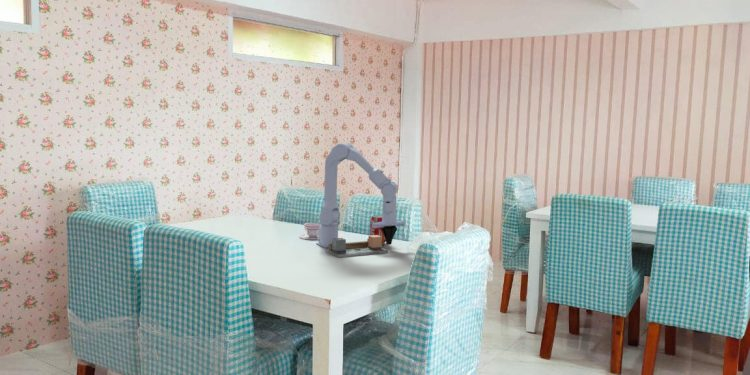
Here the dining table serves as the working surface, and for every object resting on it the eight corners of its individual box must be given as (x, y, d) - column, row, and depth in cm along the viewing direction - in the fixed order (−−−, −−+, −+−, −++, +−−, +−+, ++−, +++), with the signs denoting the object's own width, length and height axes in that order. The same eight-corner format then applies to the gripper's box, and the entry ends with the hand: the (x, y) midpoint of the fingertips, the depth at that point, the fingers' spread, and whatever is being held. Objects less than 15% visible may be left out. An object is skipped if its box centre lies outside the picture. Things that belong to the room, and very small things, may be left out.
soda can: (384, 245, 272) (384, 217, 271) (368, 244, 274) (368, 217, 273) (387, 242, 279) (387, 215, 278) (371, 241, 281) (371, 214, 279)
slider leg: (364, 246, 265) (365, 234, 264) (373, 245, 267) (374, 233, 266) (372, 249, 259) (372, 237, 258) (381, 248, 260) (381, 236, 260)
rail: (328, 248, 259) (328, 244, 258) (372, 245, 268) (372, 240, 267) (330, 249, 257) (330, 244, 257) (374, 246, 266) (374, 241, 266)
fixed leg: (329, 249, 258) (329, 237, 257) (338, 248, 260) (338, 236, 259) (336, 252, 251) (336, 240, 251) (345, 251, 253) (346, 239, 253)
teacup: (331, 237, 291) (331, 223, 290) (314, 241, 281) (314, 227, 280) (310, 234, 297) (310, 221, 297) (293, 238, 287) (293, 224, 287)
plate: (326, 251, 258) (326, 249, 258) (374, 247, 268) (374, 244, 268) (338, 257, 248) (338, 254, 247) (388, 252, 257) (388, 250, 257)
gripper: (378, 213, 256) (377, 247, 257) (409, 212, 262) (408, 244, 264) (370, 211, 262) (369, 244, 264) (401, 209, 269) (400, 241, 270)
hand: (388, 244), depth 264 cm, fingers closed
